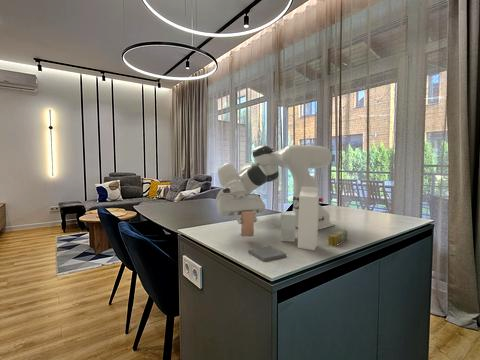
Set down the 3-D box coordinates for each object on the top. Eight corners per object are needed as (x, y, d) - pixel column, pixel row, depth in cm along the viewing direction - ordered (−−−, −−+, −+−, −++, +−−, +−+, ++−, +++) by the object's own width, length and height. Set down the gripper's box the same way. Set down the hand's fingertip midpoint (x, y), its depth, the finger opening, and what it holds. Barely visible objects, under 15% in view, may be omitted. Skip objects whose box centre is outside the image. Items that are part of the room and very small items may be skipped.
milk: (314, 250, 92) (316, 188, 90) (297, 248, 94) (299, 187, 93) (317, 245, 97) (319, 186, 96) (300, 243, 100) (302, 185, 98)
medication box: (340, 239, 107) (341, 229, 107) (347, 240, 105) (347, 230, 105) (327, 245, 98) (328, 235, 98) (335, 247, 96) (335, 236, 96)
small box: (295, 242, 101) (295, 215, 100) (280, 241, 102) (281, 214, 101) (294, 236, 109) (295, 211, 108) (281, 235, 110) (281, 210, 109)
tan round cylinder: (249, 232, 104) (249, 210, 104) (256, 235, 100) (256, 212, 100) (238, 234, 102) (239, 211, 101) (245, 237, 98) (245, 213, 97)
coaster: (270, 248, 93) (270, 245, 93) (286, 256, 85) (286, 253, 85) (248, 252, 89) (248, 249, 89) (263, 261, 81) (263, 258, 81)
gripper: (254, 198, 115) (267, 224, 107) (211, 200, 105) (222, 229, 97) (260, 188, 111) (274, 215, 103) (216, 190, 101) (227, 220, 93)
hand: (248, 222), depth 100 cm, fingers closed on tan round cylinder, 5 cm apart
